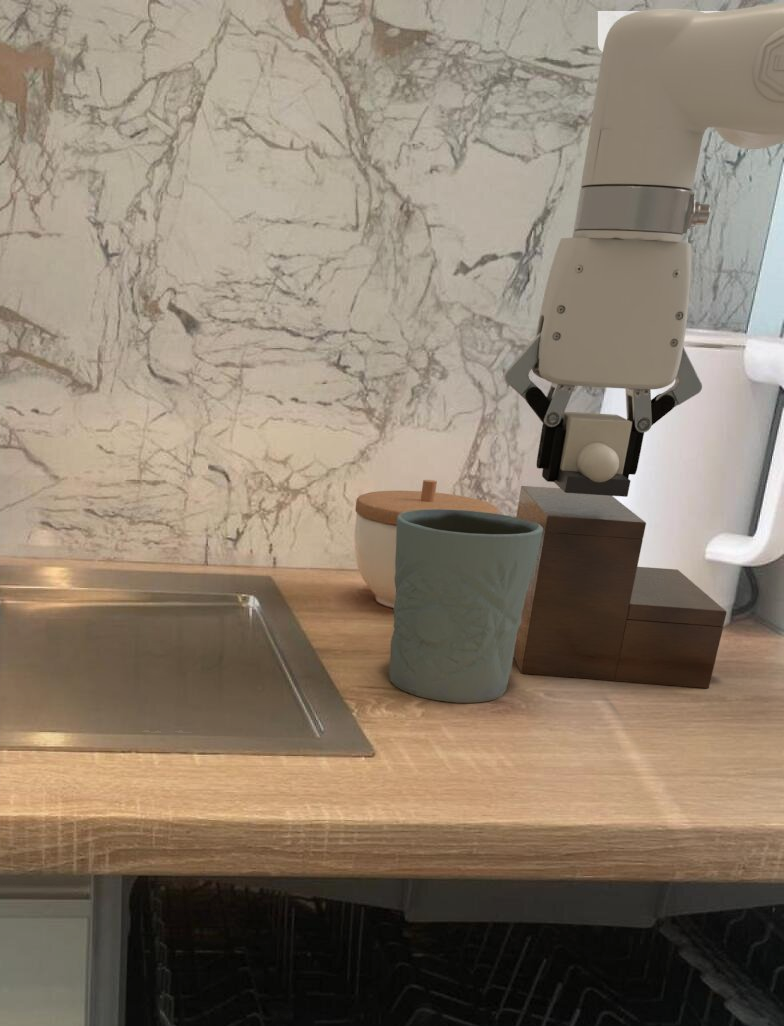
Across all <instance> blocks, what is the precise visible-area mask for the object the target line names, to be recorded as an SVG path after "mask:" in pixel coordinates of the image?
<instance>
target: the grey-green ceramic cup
mask: <svg viewBox="0 0 784 1026" xmlns="http://www.w3.org/2000/svg"><path fill="white" fill-rule="evenodd" d="M542 533H543V528H542V526H540V525H539V524H537V523H535V522H532V521H529V520H525V519H521V518H516V516H511V515H506V514H500V513H499V514H493V513H485V512H476V511H467V510H449V509H429V510H414V511H408V512H404V513H401V514H399V515H398V516H397V532H396V558H395V577H394V580H395V587H396V596H395V604H394V608H393V618H394V622H393V632H392V635H391V641H390V654H389V655H390V656H389V681H390V683H392V685H393V686H395V687H396V688H398V689H400V690H401V691H403V692H406V693H408V694H410V695H414V696H416V697H420V698H422V699H427V700H433V701H439V702H446V703H447V702H448V703H458V704H474V703H475V704H476V703H483V702H490V701H494V700H496V699H499V698H501V697H502V696H503V695H505V692H506V690H507V688H508V684H509V680H510V676H511V672H512V667H513V662H514V649H515V642H516V636H517V631H518V629H519V627H520V624H521V614H522V610H523V607H524V602H525V597H526V593H527V590H528V587H529V583H530V580H531V577H532V574H533V570H534V566H535V562H536V558H537V554H538V550H539V545H540V541H541V537H542Z"/></svg>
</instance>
